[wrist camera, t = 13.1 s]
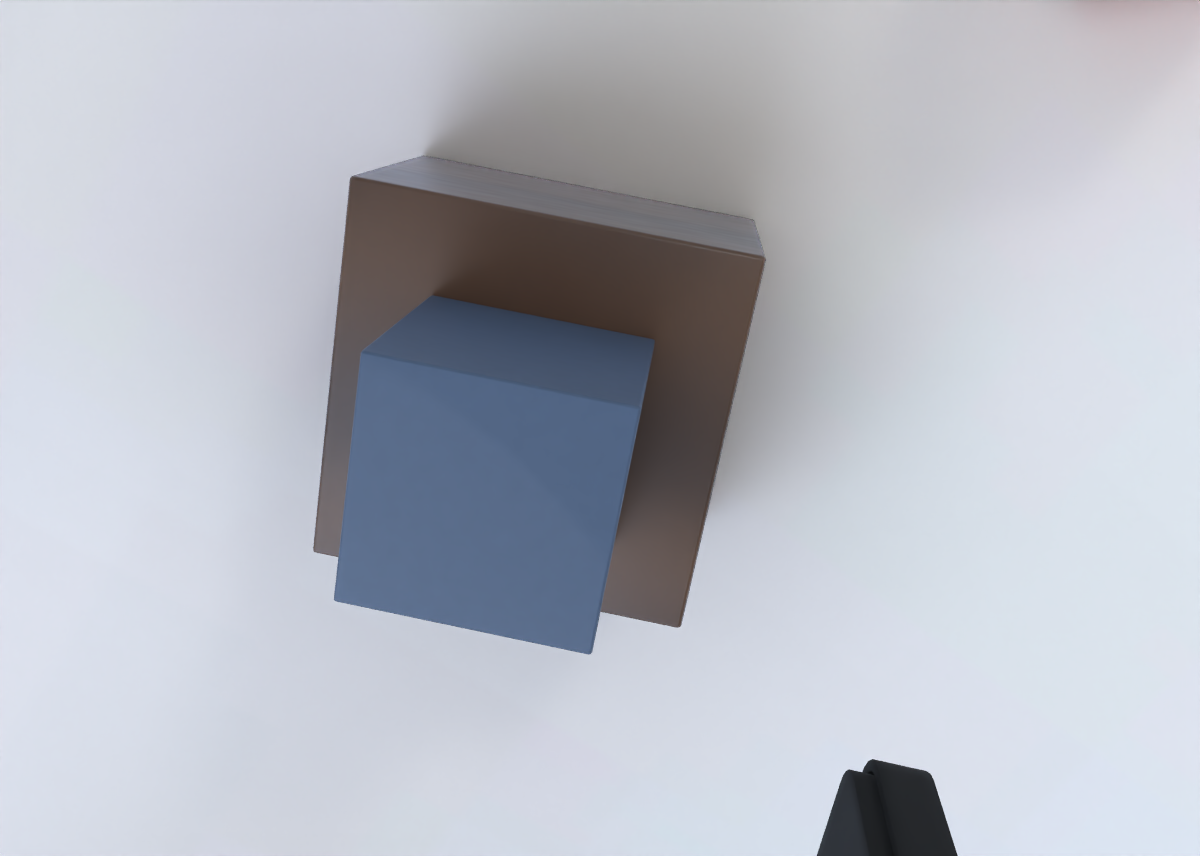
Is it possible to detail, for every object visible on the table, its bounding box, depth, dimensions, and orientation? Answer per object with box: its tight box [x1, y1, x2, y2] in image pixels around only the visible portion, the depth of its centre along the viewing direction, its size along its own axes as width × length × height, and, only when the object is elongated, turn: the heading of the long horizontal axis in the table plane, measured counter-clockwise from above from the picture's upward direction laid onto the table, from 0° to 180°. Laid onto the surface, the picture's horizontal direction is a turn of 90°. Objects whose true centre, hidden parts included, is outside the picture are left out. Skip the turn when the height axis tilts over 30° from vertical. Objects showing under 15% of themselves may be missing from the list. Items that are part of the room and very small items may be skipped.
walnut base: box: [313, 156, 766, 627], centre depth 27 cm, size 9×9×6 cm
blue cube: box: [334, 295, 655, 654], centre depth 22 cm, size 5×5×5 cm
